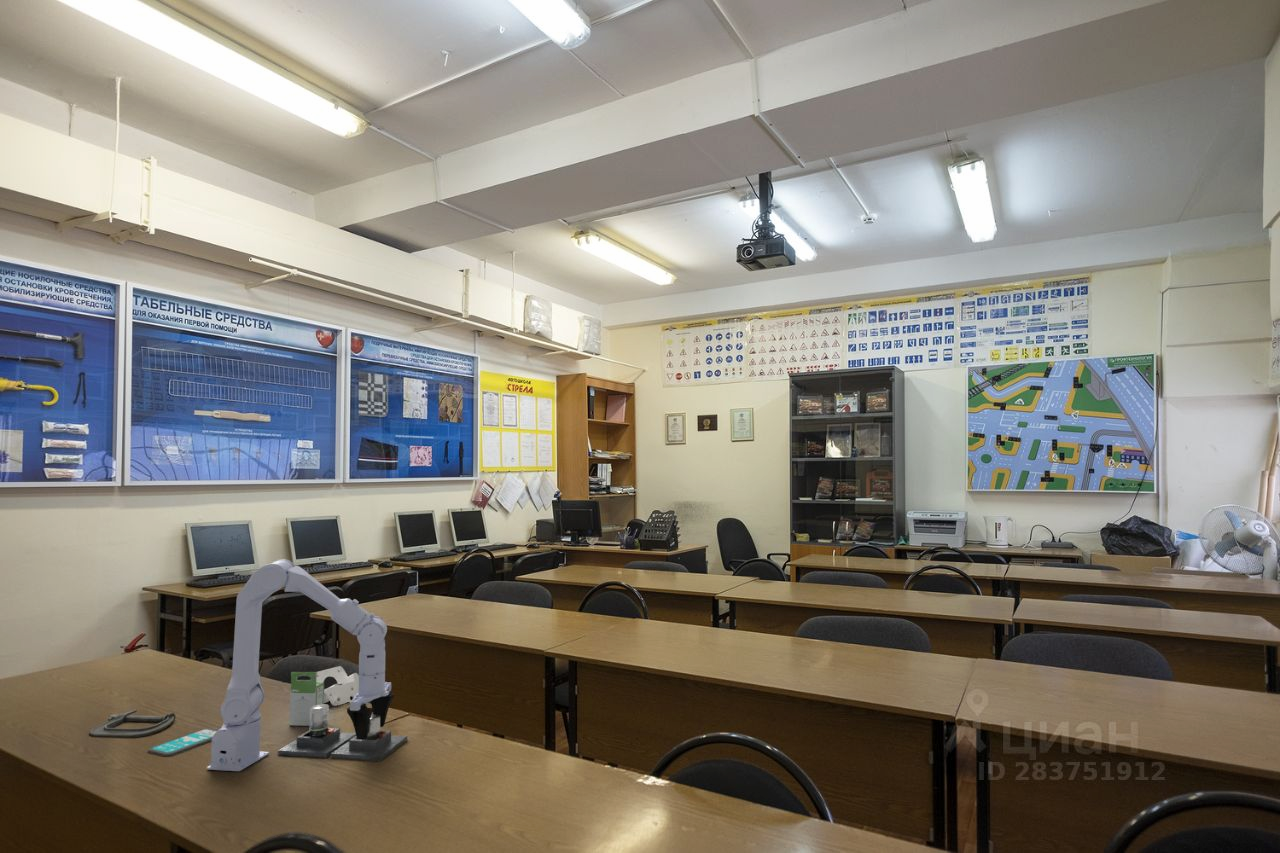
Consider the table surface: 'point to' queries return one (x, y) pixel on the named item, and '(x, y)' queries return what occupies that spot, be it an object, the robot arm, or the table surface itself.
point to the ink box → (304, 697)
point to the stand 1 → (317, 744)
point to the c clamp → (115, 720)
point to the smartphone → (184, 743)
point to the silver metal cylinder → (319, 720)
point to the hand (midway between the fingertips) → (370, 732)
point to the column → (373, 728)
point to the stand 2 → (370, 747)
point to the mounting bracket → (339, 692)
